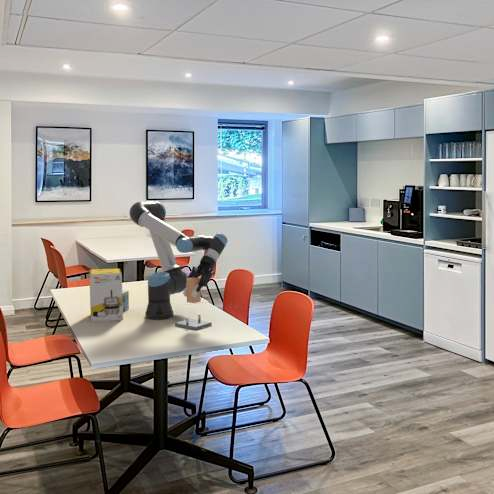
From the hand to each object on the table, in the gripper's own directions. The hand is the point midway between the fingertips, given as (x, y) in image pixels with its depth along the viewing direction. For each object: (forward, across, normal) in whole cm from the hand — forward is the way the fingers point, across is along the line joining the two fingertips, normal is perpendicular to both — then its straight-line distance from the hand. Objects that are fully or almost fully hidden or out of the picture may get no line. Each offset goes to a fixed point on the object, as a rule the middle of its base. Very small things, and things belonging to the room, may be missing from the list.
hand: (188, 295), depth 302 cm
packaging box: (+19, +50, -4) cm, 54 cm away
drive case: (0, 0, -5) cm, 5 cm away
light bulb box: (+8, +56, -15) cm, 59 cm away
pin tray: (+9, 0, -14) cm, 17 cm away
